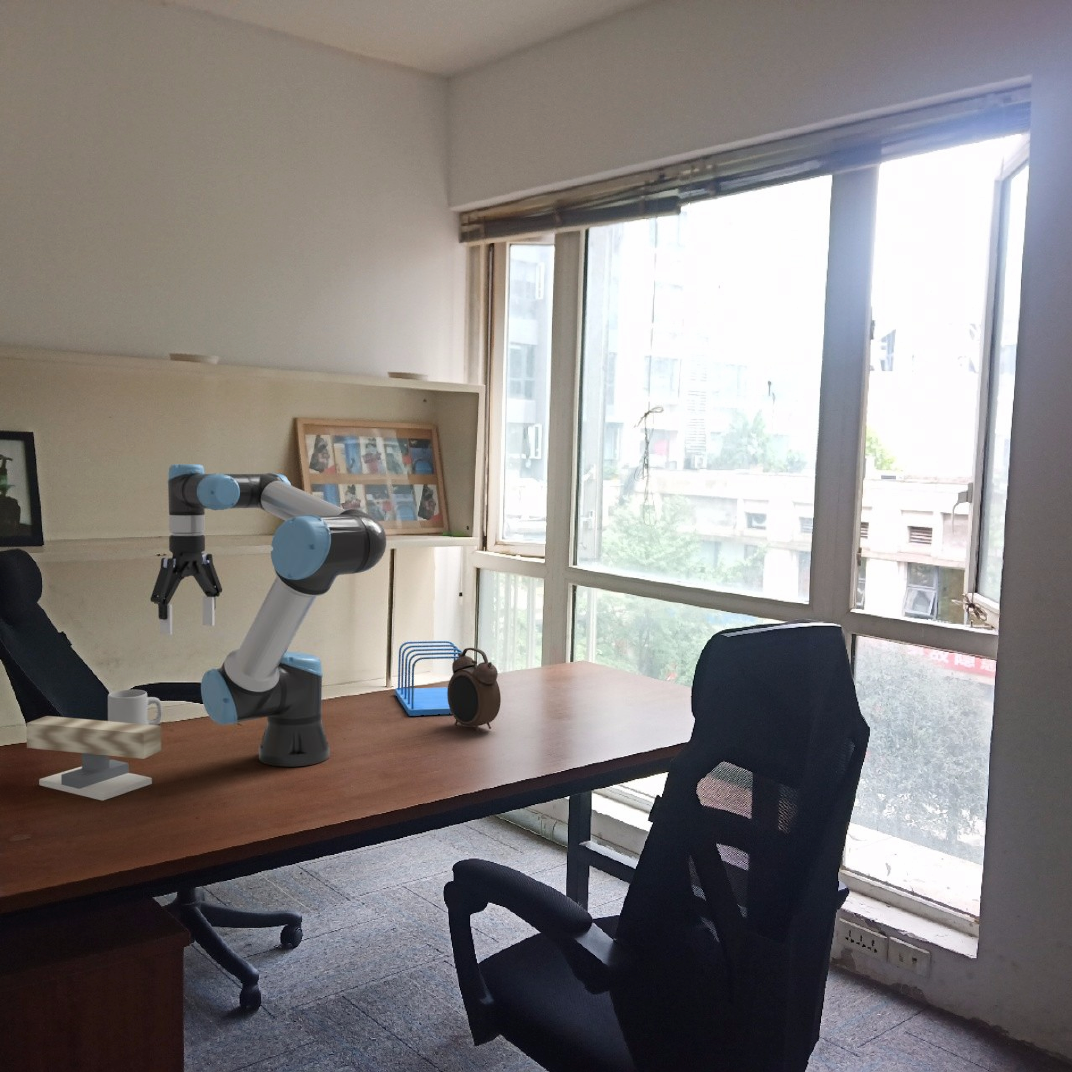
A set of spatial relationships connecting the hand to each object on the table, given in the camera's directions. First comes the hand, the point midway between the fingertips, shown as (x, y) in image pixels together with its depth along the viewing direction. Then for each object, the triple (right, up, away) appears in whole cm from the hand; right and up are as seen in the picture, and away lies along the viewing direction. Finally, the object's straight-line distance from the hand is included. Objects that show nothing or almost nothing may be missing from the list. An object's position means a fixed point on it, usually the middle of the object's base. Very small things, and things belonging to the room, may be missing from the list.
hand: (188, 629), depth 234 cm
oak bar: (-11, -22, -24) cm, 34 cm away
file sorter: (+50, -25, +49) cm, 74 cm away
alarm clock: (+62, -27, +25) cm, 72 cm away
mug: (-15, -26, +9) cm, 32 cm away
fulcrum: (-11, -29, -23) cm, 39 cm away
